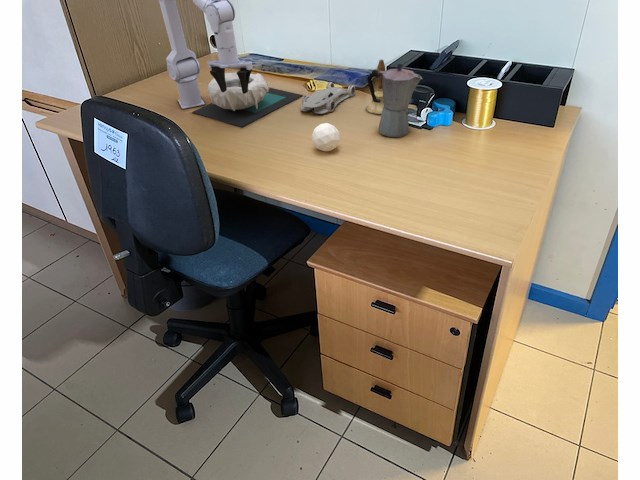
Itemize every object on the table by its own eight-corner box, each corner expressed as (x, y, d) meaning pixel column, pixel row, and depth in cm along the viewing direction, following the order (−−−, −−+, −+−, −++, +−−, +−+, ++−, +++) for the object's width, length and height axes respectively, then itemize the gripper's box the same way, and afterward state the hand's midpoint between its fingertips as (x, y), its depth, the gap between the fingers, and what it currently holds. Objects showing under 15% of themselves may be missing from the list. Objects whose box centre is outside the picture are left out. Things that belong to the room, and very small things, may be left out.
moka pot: (417, 139, 139) (422, 70, 127) (364, 137, 142) (364, 69, 130) (418, 125, 146) (423, 58, 134) (368, 124, 149) (368, 58, 137)
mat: (242, 127, 153) (241, 126, 152) (192, 113, 165) (192, 111, 165) (302, 96, 172) (302, 95, 171) (254, 85, 184) (253, 84, 184)
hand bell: (392, 104, 161) (393, 55, 151) (392, 114, 154) (394, 63, 145) (367, 104, 162) (367, 56, 152) (366, 114, 155) (366, 64, 146)
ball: (333, 156, 139) (349, 135, 135) (319, 158, 133) (336, 136, 129) (316, 138, 141) (331, 117, 137) (301, 139, 134) (317, 117, 130)
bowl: (199, 116, 160) (193, 87, 154) (226, 94, 176) (221, 67, 170) (256, 121, 155) (252, 90, 149) (278, 97, 170) (275, 69, 164)
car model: (357, 93, 170) (357, 79, 167) (321, 119, 154) (320, 104, 151) (331, 89, 175) (330, 75, 172) (293, 113, 159) (292, 98, 156)
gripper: (198, 49, 141) (208, 95, 149) (241, 50, 136) (249, 97, 144) (211, 43, 146) (219, 87, 154) (252, 44, 141) (259, 89, 149)
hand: (234, 92), depth 149 cm, fingers open, 7 cm apart
